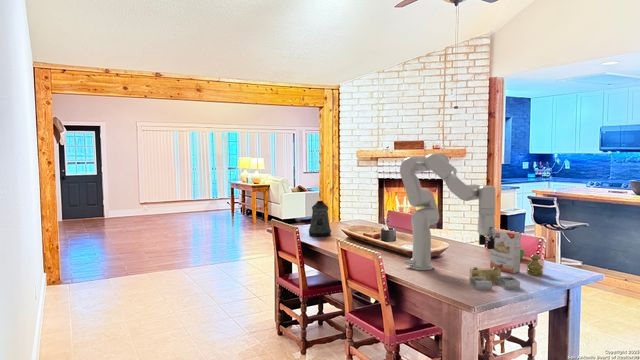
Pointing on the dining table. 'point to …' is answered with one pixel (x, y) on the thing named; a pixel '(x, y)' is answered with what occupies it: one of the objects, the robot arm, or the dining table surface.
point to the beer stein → (320, 221)
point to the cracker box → (506, 251)
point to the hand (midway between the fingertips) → (486, 246)
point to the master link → (486, 273)
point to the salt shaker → (535, 266)
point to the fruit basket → (521, 252)
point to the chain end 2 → (507, 282)
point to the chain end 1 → (480, 283)
